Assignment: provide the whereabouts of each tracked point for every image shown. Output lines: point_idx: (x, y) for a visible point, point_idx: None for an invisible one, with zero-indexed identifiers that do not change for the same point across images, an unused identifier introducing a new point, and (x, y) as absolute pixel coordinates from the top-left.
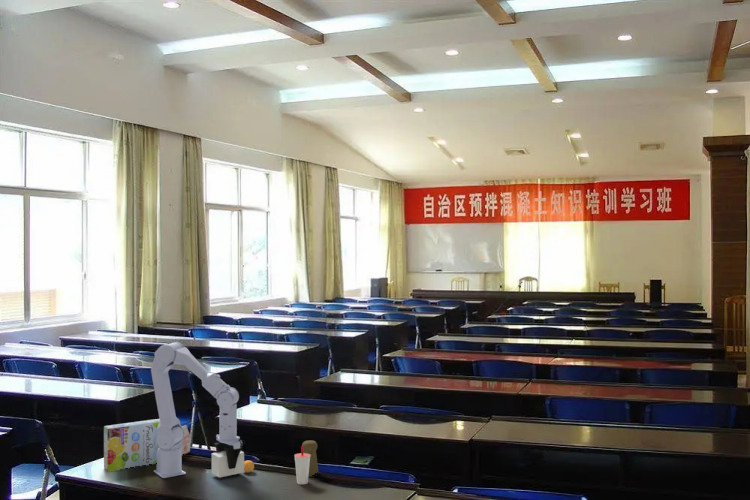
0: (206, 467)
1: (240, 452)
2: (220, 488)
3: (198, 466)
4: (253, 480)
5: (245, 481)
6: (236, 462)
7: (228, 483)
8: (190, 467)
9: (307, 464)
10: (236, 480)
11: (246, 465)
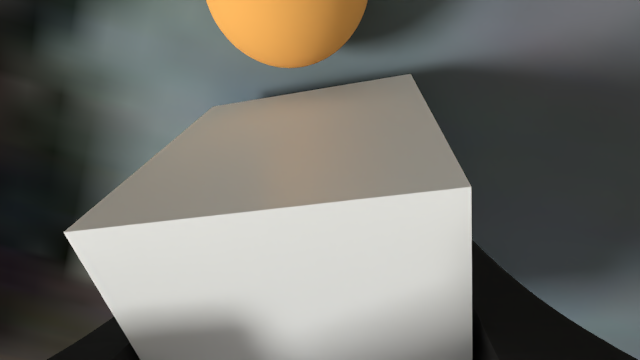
0: (48, 266)
1: (408, 249)
2: (607, 322)
3: (18, 299)
4: (630, 14)
5: (593, 107)
6: (484, 252)
7: (533, 248)
8: (37, 337)
9: None
10: (499, 172)
11: (344, 30)
